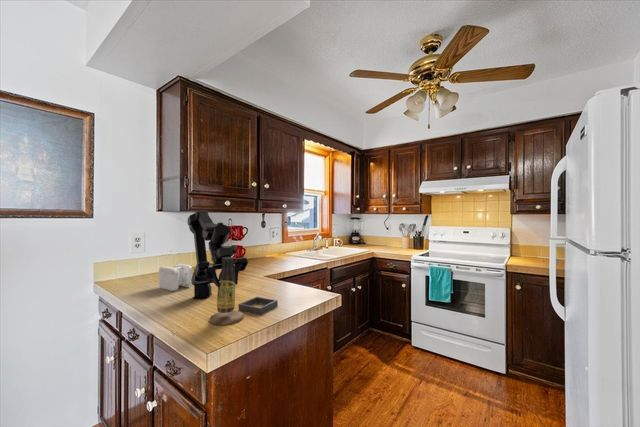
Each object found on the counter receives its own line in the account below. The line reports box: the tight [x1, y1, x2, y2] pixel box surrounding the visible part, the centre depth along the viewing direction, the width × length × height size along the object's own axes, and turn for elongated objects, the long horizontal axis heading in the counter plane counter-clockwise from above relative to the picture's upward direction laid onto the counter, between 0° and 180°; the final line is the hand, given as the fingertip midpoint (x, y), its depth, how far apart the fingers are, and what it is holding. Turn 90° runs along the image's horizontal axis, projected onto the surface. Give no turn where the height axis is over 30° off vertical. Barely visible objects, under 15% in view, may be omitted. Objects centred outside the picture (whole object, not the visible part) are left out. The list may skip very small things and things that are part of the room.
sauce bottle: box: [216, 256, 236, 313], centre depth 102 cm, size 6×6×20 cm
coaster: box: [209, 310, 245, 326], centre depth 102 cm, size 12×12×1 cm
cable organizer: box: [158, 263, 193, 292], centre depth 143 cm, size 15×11×12 cm
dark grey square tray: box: [238, 296, 279, 316], centre depth 113 cm, size 11×11×2 cm
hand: (228, 285), depth 101 cm, fingers closed on sauce bottle, 6 cm apart
